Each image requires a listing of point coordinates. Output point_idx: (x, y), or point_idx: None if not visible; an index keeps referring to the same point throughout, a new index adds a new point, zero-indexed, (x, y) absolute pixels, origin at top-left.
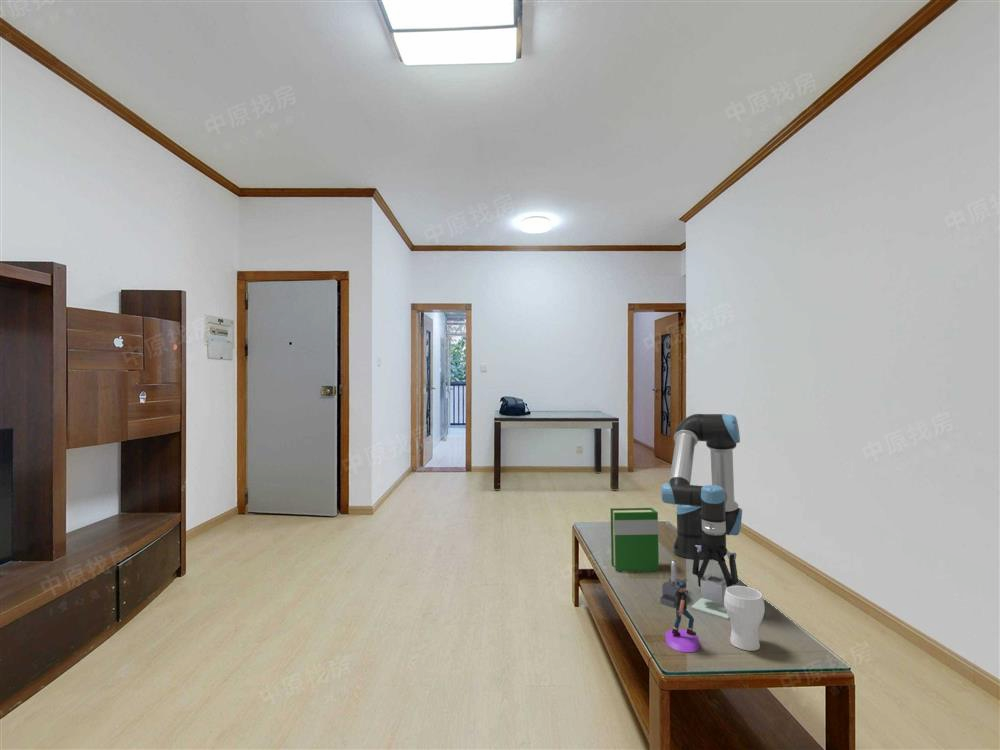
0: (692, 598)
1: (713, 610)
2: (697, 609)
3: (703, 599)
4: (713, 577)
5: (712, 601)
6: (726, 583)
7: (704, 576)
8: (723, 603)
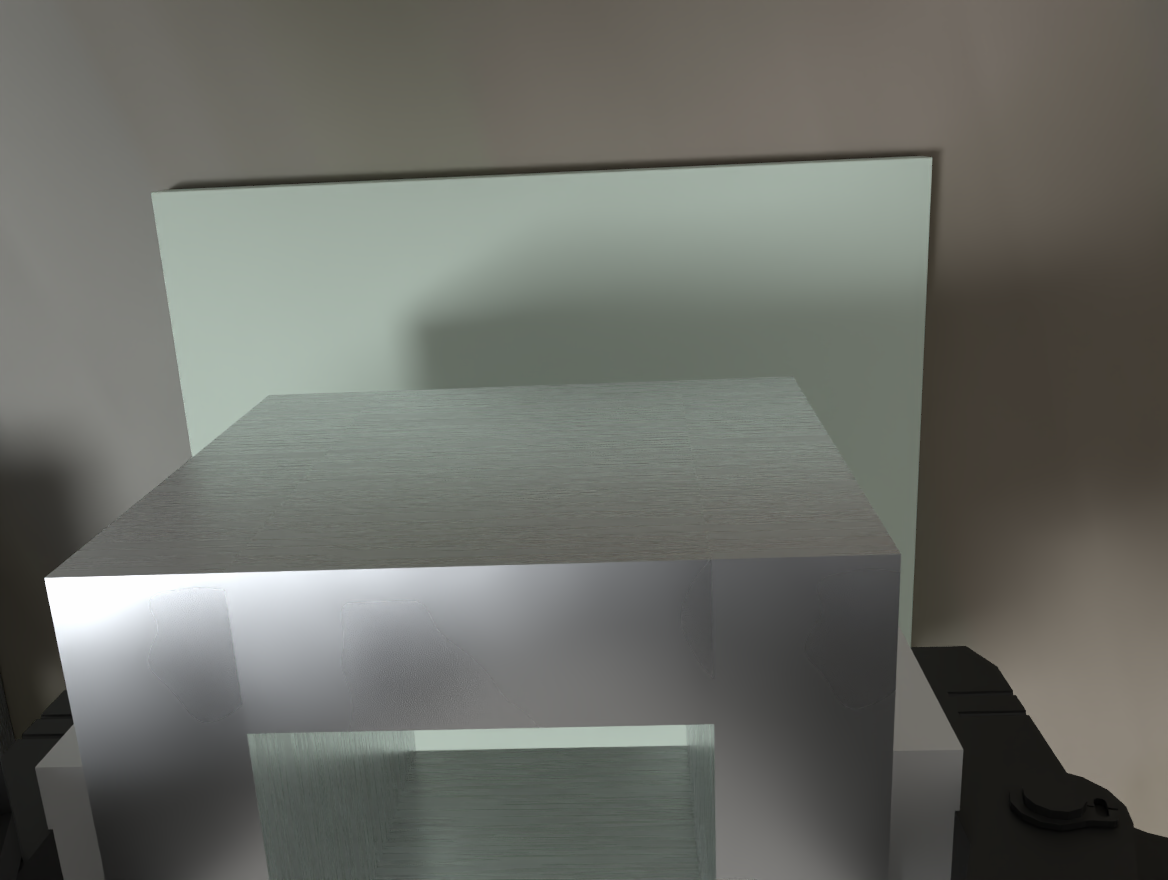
0: (47, 420)
1: (602, 728)
2: None
3: (247, 405)
4: (351, 711)
5: (418, 367)
6: (897, 854)
7: (60, 764)
8: (625, 307)
